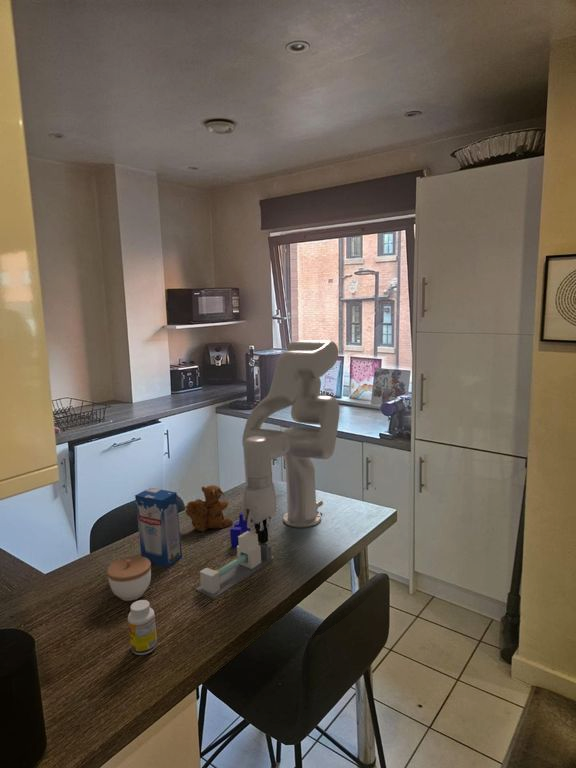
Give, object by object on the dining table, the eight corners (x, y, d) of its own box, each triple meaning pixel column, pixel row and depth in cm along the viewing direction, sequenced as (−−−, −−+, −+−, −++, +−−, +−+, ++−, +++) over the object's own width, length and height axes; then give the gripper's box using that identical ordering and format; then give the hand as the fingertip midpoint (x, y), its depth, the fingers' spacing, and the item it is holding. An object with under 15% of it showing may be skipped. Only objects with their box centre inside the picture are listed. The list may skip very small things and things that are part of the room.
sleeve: (247, 557, 148) (245, 530, 146) (261, 562, 145) (259, 534, 143) (237, 563, 145) (236, 535, 143) (251, 569, 141) (249, 540, 140)
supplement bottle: (132, 641, 115) (127, 599, 113) (158, 637, 116) (154, 595, 114) (129, 658, 109) (125, 614, 108) (156, 653, 110) (152, 610, 109)
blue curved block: (237, 529, 167) (235, 512, 166) (250, 530, 167) (249, 512, 166) (226, 547, 156) (225, 529, 155) (241, 548, 155) (239, 529, 154)
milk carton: (141, 560, 150) (134, 495, 147) (156, 550, 156) (150, 487, 152) (168, 567, 146) (162, 500, 142) (182, 557, 151) (176, 492, 147)
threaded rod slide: (256, 551, 152) (255, 534, 151) (275, 558, 148) (274, 541, 147) (195, 589, 134) (193, 571, 133) (214, 598, 129) (213, 579, 129)
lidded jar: (109, 588, 136) (105, 555, 135) (151, 578, 140) (147, 546, 138) (110, 610, 127) (106, 575, 125) (155, 600, 130) (152, 565, 129)
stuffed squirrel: (235, 524, 171) (233, 486, 169) (198, 538, 162) (195, 498, 160) (219, 515, 179) (216, 478, 177) (182, 528, 170) (179, 490, 168)
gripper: (265, 470, 153) (269, 528, 156) (230, 486, 142) (234, 548, 145) (285, 474, 149) (288, 534, 152) (250, 491, 137) (254, 555, 140)
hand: (262, 541), depth 148 cm, fingers closed
